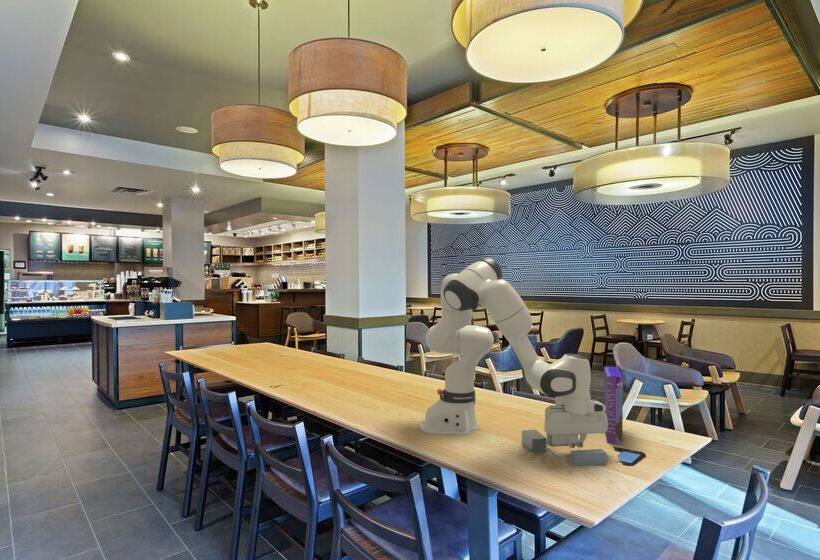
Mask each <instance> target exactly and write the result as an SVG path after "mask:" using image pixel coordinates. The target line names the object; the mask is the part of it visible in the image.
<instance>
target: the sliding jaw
mask: <svg viewBox="0 0 820 560" xmlns="http://www.w3.org/2000/svg"><path fill="white" fill-rule="evenodd" d="M546 438H547V445H549V446H568V440H567V439H566V437H565V435H553V436H551V435H549V434H548V433H546ZM571 440H572V441H573V442H575V446H577V445H576V444H577V443H576V440H579V434H573V435H572V438H571Z"/></svg>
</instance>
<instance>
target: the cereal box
mask: <svg viewBox="0 0 820 560" xmlns="http://www.w3.org/2000/svg"><path fill="white" fill-rule="evenodd" d="M623 381H624V378H623V375H622V373H621V371H620V369H619V367H618V366H612V365H611V366H609V365H607V366H603V404H604V405H605V406H606V410H605V411H604V412H605V413H606V415H607V420H608V430H607V431H606V433H604V434H605V439H606V443H608V444H615V445H616V444H617V445H623V421H624V420H623V418H624V417H623V415H624V414H623V406H624V405H623V402H624V400H623V399H624V398H623V397H624V396H623V395H624V394H623V393H624V386H623V384H624V382H623Z"/></svg>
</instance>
